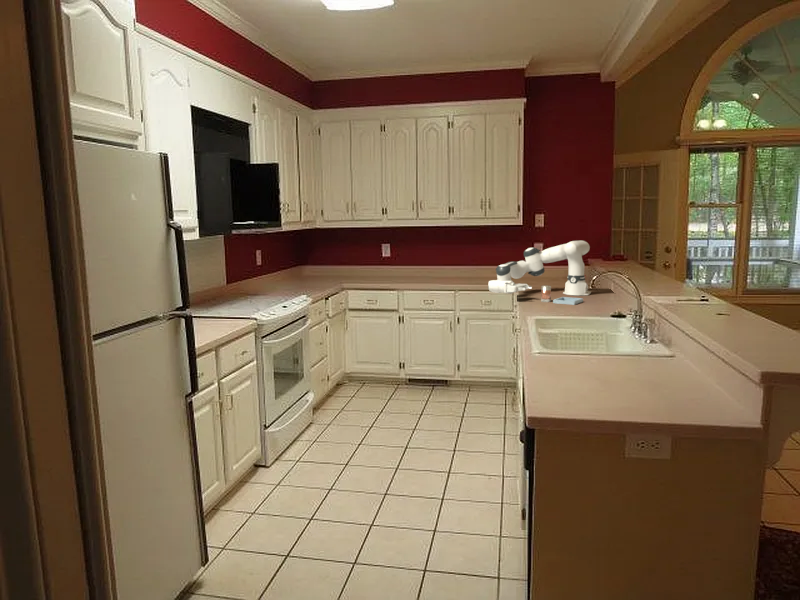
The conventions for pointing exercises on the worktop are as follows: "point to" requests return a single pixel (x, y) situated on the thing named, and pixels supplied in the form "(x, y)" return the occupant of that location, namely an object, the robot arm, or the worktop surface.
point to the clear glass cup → (546, 294)
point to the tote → (568, 300)
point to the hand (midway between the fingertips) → (528, 288)
